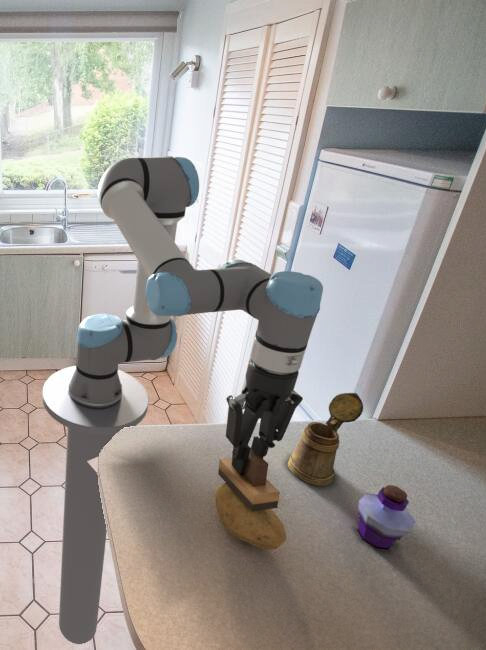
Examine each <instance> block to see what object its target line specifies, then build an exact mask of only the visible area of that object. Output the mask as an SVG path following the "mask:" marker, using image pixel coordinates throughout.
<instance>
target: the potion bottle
mask: <svg viewBox="0 0 486 650" xmlns="http://www.w3.org/2000/svg"><path fill="white" fill-rule="evenodd" d="M409 502H410V501H409V499H408V494H407V492H406V491H405V490H404V489H402V488H400V487H398V486H397V485H391V484H388V485H386V486H385V487H384V486H383V487H382V488H381V489H380V490H379V491H378V492H377V493H369V492H366V493H365V494H364V495H363V496H362V497H361V498H360V499H359V500H358V510H357V514H358V516H359V518H358V528H357V532H358V534H359V536H360V538H361V540H362V541H364V542H365V543H367V544H368V545H370V546H371V547H373V548H374V549H379V550H387V551H388V550H390V548H391V547H392V546H393V545H394V543H395V542H396V541H400V540H401V539H402V538H403V537H405V536H406V535H407V534H408V533H409V532H410V531H411V530H412V528H413V527H414V526H415V524H417V521H416V520H415V518H414V517H413V515H412V514H411V512H410V511H409V510H408V508H407V507H408V505H409Z"/></svg>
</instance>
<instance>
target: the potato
mask: <svg viewBox="0 0 486 650" xmlns="http://www.w3.org/2000/svg"><path fill="white" fill-rule="evenodd" d="M214 505H215V508H216V511H217V514H218V516H219V517H218V518H219V519H220V521H221V523H222V524H223V525H224V527H225V528H226V530H227V531H228V532H229V533H230V534H231V535H232V536H234V537H235V538H237V539H238V540H241V541H243V542H245V543H248V544H250V545H252V546H254V547H257V548H260V549H263V550H278V549H279V548H280V547H281V546H282V545H283V544H284V543H285V542H287V541H288V537H287V533H286V528H285V524H284V523H283V521H282V520H281V519H280V517H279V515H277V514H276V512H275V511H274V510H273V509H267V510H260V511H253V512H252V511H251V510H250V509H249V508H248V507H247V505H246V504H245V503H244V502H243V501H242V500H241V499H240V498H239V497H238V496H237V494H236V493H235V492H234V491H233V490H232V489H231V488H230V487H229V486H228V485H227V483H226V482H223V483H221V485H220V486H218V487H217V488H216V490H215V492H214Z"/></svg>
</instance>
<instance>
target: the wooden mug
mask: <svg viewBox="0 0 486 650" xmlns="http://www.w3.org/2000/svg"><path fill="white" fill-rule="evenodd" d="M328 412H329V415H330V416H329V418H328V419H327V421H326V422H325V423H322V422H318V421H313V422H310V423H308V424H307V426H306V427H305V428H304V429H303V431H302V433H301V434H300V437H301V438H300V440H299V441H298V444H297V445H296V446H295V449H294V451H293V452H291V455H290V456H289V458H288V462H287V466H288V469H289V470H290V471H291V473H292V474H293V475H294V476H296V477H297V478H299V480H302V481H304V482H306V483H309V484H312V485H315V486H327V485H329V484H330V483H332V481H334V475H335V469H334V467H335V461H336V456H337V451H338V450H339V447H340V435H339V433H338V430H339V429H340V428H341V426H342V425H343V424H344V423H351V422H355V421H356V420H358V419H359V418H360V417H361V415H362V414H363V412H364V403H363V401H362V399H361V397H360V395H358V393H357V392H344V393H343V392H342V393H339V394H337V395H335V396H334V397H333V398H332V399H331V401H330V403H329V404H328Z"/></svg>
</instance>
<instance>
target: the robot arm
mask: <svg viewBox="0 0 486 650" xmlns="http://www.w3.org/2000/svg"><path fill="white" fill-rule="evenodd" d="M199 193H200V179H199V174H198V171H197V169H196V167H195V165H194V162H193V161H191V160H190V159H188V158H186V157H183V156H172V155H171V156H170V155H169V156H168V155H167V156H149V157H126V158H122V159H120V160H117V161H116V162H114V163H113V164H112V165H110V166H109V167H108V168H107V169H106V170H105V172H103V174H102V176H101V178H100V181H99V183H98V187H97V199H98V203H99V206H100V208H101V210H102V211H103V213H104V215H105V216H106V217H107V218H109V219H111V220H113V221H114V223H115V224H116V226H117V227H118V229H119V231H120V232H121V234H122V235H123V238H124V240H125V241H126V243H127V244H128V246H129V248H130V249H131V251H132V252H133V254H134V256H135V258H136V259H137V264H136V275H135V283H134V284H135V285H134V295H133V303H132V304H133V305H132V306H131V307H129V308H128V309H127V310H126V318H125V319H123V320H122V319H121V318H120V317H118V316H117V315H116V314H115V315H114V314H108V313H98V314H92V315H90V316H87V317H86V318H83V320H82V321H81V322H80V323H79V325H78V329H77V334H76V357H75V359H76V360H75V361H76V362H75V366H76V369H75V372H74V374H73V376H72V378H71V381H70V383H69V390H68V392H69V396H70V398H71V399H72V400H73V401H74V402H75V403H77V404H79V405H81V406H83V407H86V408H90V409H106V408H110V407H113V406H115V405H116V404H118V403H119V402H120V400H121V398H122V383H120V379H119V376H118V370H119V364H124V363H132V362H133V363H134V362H142V361H156V360H159V359H164V358H167V357H169V356H170V355H171V354H172V353H173V352H174V350H175V348H176V347H177V341H178V332H177V325H176V323H175V321H174V319H172V317H182V316H187V315H188V316H189V315H197V314H206V313H217V312H218V313H219V312H228V311H229V312H230V311H243V312H245V313H246V314H248V315H249V316H250V317H252V318H254V319H255V320H257V321H258V324H257V330H256V332H255V335H254V340H253V344H252V347H251V350H250V359H249V360H248V364H247V368H246V372H245V386H244V387H243V389H242V390H241V393H240V394H239V395H237V396H233V395H227V397H226V399H225V400H226V403H227V405H228V411H227V420H226V429H225V438H226V439H227V440H228V441H229V443H230V444H231V445H232V451H231V454H233V456H234V458H233V462H232V466H233V467H234V469H235V470H236V471H237V473H238V474H239V475H240V476H241V475H244V471H245V468H246V464H247V461H248V457H249V453H250V450H251V449H253V450H254V451H255V452H256V453H257V454H258V455H259V456H260V457H262V458H263V459H264V457H266V456H267V455H268V452H269V449H273V448H275V447H276V444H275V442H274V441H276V442H281V441H282V440H283V438H284V437H285V434H286V432H287V429H288V427H289V425H290V423H291V420H292V418H293V416H294V413H295V411H296V409H297V407H298V406H299V405H300V404H301V403H302V402H303V400H304V398H303V396H301V394H299V393H298V392H297V391H296V390H295V387H296V383H297V380H298V378H299V371H300V368H301V366H302V363H303V360H304V358H305V353H306V350H307V347H308V343H309V340H310V337H311V334H312V330H313V328H314V325H315V322H316V319H317V317H318V314H319V312H320V310H321V303H322V297H323V293H324V285H323V284H322V282H321V281H320V280H319V279H318V278H316V277H314V276H313V275H310V274H304V273H302V272H298V271H292V270H290V271H289V270H288V271H287V270H282V271H277V272H274V273H273V274H272V273H270V272H268V271H266V270H264V269H262V268H261V267H259V266H258V265H257V264H253V263H252V262H248V261H246V260H243V259H238V258H237V259H231V260H229V261H227V262H225V263H223V264H222V265H221V266H219V267H218V268H211V269H195V267H194V266H193V265H192V263H191V262H190V261H189V260H188V258H187V257H186V256H185V254H184V253H183V251H182V250H181V249H180V247H179V246H178V245H177V244H176V237H177V229H178V223H179V222H180V221H181V220H182V219H184V218H185V216H186V210H187V208H189V207H191V206H192V205H194V204H195V203H196V201H197V200H198V197H199V195H200V194H199ZM258 421H260V422H259V429H258V436H257V435H256V436H253V433H254V431H255V429H256V426H257V424H258ZM252 437H253V439H252V443H251V446H250V445H249V443H250V440H251V438H252ZM233 446H234V447H233Z"/></svg>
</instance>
